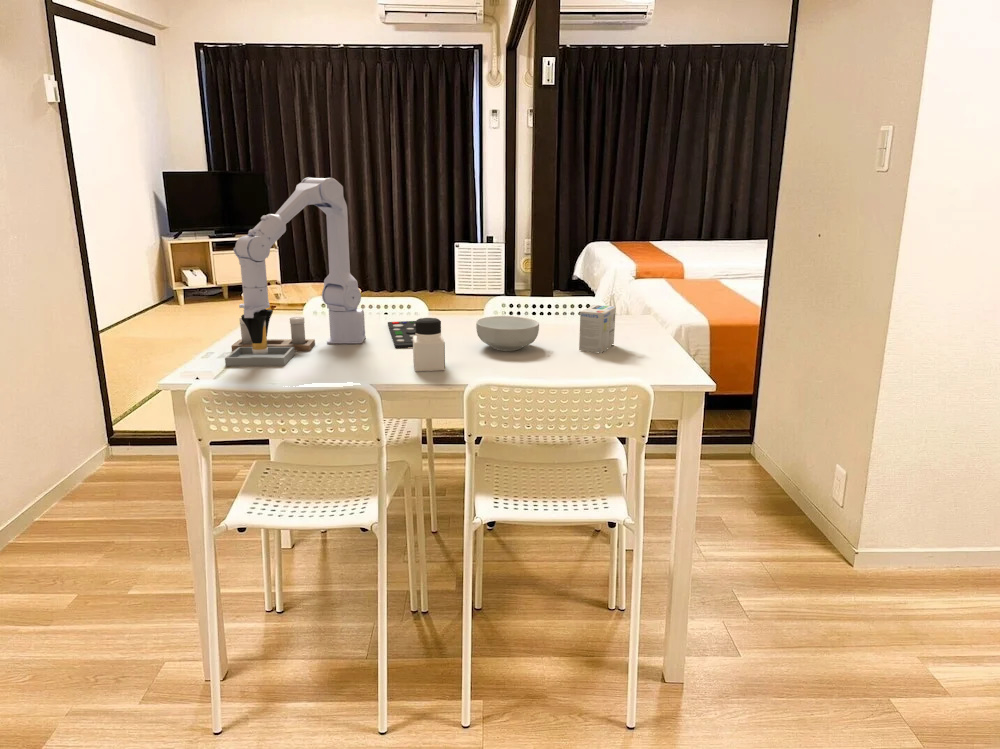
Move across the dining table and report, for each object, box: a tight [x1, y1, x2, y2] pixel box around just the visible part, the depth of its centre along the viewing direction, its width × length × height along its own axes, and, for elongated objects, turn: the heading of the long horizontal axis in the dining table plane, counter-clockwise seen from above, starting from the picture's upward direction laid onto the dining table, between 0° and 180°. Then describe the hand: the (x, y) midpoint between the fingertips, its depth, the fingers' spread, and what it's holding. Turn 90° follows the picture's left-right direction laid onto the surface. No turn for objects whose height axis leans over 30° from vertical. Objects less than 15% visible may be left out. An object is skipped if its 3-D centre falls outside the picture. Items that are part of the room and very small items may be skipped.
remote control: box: [387, 320, 416, 349], centre depth 207 cm, size 11×30×2 cm, turn 12°
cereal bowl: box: [475, 315, 540, 352], centre depth 193 cm, size 17×17×7 cm
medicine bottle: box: [412, 316, 446, 373], centre depth 173 cm, size 7×7×12 cm
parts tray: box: [224, 347, 296, 367], centre depth 179 cm, size 14×11×2 cm
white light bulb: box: [239, 317, 252, 344], centre depth 190 cm, size 4×4×8 cm
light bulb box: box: [578, 304, 617, 354], centre depth 193 cm, size 11×7×11 cm, turn 154°
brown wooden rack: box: [231, 338, 316, 352], centre depth 191 cm, size 20×7×2 cm, turn 92°
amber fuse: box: [252, 320, 268, 354], centre depth 178 cm, size 4×4×8 cm
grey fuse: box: [289, 316, 306, 344], centre depth 191 cm, size 4×4×8 cm
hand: (259, 341), depth 178 cm, fingers closed on amber fuse, 3 cm apart
